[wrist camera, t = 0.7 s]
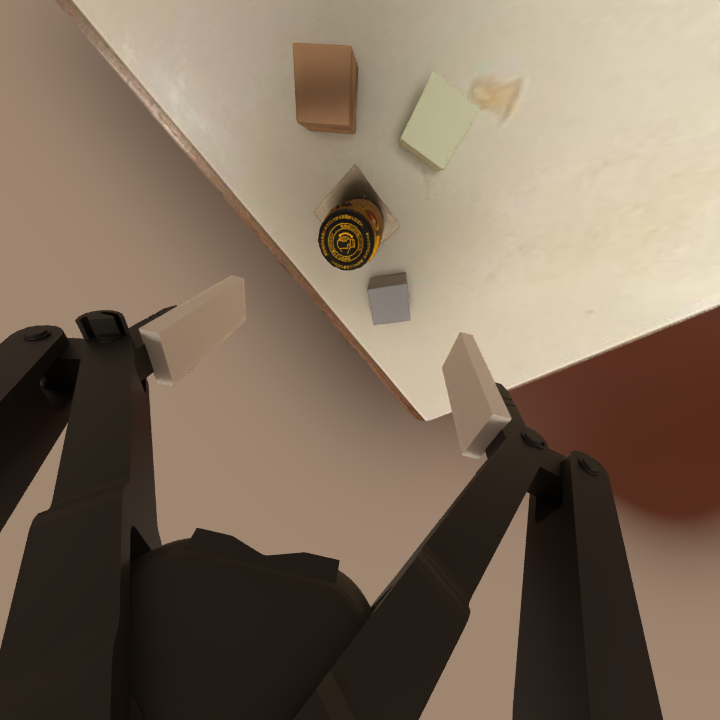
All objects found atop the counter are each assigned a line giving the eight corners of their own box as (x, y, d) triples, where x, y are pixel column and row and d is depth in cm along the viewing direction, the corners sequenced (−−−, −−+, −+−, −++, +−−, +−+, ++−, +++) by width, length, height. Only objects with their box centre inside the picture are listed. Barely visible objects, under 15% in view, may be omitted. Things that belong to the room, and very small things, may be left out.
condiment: (357, 264, 36) (343, 293, 26) (313, 211, 33) (279, 222, 23) (399, 225, 33) (402, 242, 23) (355, 164, 30) (336, 153, 20)
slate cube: (370, 278, 37) (367, 289, 33) (405, 272, 36) (407, 283, 32) (375, 310, 40) (373, 325, 36) (408, 306, 39) (410, 320, 35)
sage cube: (427, 88, 26) (433, 70, 22) (467, 119, 27) (480, 107, 23) (399, 144, 29) (400, 138, 25) (436, 171, 30) (443, 169, 26)
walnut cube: (309, 65, 26) (292, 42, 22) (358, 68, 26) (351, 46, 22) (310, 130, 29) (296, 121, 25) (355, 134, 29) (348, 125, 25)
